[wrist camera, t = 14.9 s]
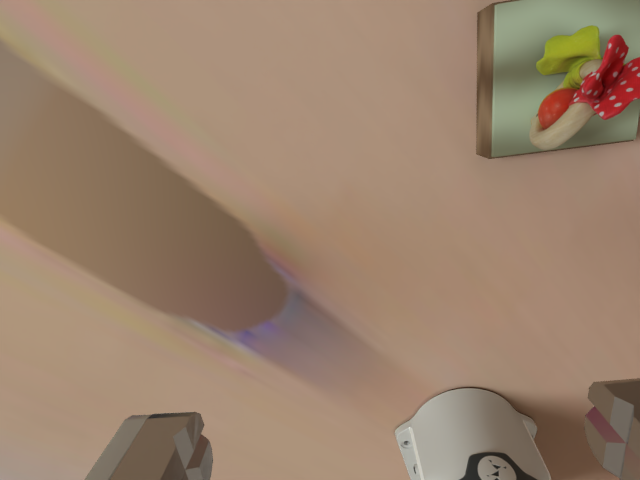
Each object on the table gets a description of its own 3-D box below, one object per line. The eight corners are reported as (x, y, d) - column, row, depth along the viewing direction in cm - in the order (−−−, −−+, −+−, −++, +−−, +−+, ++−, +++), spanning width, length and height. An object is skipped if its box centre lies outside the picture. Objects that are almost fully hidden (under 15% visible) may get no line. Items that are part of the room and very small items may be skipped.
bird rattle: (555, 132, 36) (639, 34, 30) (594, 198, 28) (720, 85, 22) (497, 107, 35) (570, 3, 29) (520, 168, 27) (628, 42, 21)
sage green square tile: (607, 137, 38) (637, 141, 34) (476, 154, 39) (491, 159, 35) (626, -12, 33) (662, -26, 30) (477, 12, 34) (494, 1, 31)
